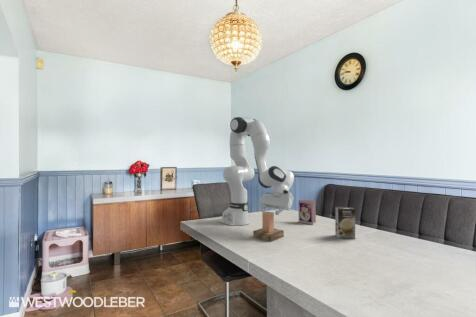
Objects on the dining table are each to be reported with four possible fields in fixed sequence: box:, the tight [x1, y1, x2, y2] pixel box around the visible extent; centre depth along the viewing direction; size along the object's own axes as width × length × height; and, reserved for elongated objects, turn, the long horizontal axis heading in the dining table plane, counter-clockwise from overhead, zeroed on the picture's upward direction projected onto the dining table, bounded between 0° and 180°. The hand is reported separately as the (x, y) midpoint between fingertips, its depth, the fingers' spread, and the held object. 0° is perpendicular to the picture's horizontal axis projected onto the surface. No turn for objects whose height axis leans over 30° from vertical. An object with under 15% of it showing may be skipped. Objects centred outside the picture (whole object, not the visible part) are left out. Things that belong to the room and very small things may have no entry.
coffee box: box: [334, 206, 356, 239], centre depth 146 cm, size 9×6×16 cm
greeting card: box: [297, 199, 317, 225], centre depth 180 cm, size 11×7×15 cm, turn 43°
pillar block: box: [261, 211, 275, 232], centre depth 147 cm, size 4×4×10 cm
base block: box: [252, 227, 285, 242], centre depth 147 cm, size 12×12×4 cm
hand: (269, 213), depth 148 cm, fingers open, 8 cm apart
